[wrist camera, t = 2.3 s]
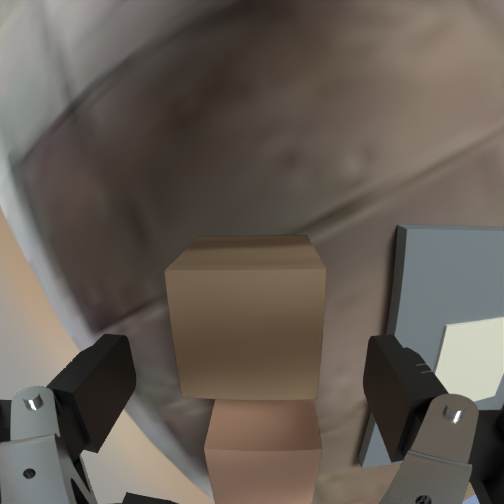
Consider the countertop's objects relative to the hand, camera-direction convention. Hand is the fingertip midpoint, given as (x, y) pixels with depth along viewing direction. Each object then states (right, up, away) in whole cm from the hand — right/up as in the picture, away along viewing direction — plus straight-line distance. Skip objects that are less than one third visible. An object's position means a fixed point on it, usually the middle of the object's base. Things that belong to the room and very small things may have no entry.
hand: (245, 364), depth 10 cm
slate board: (+13, -3, +6) cm, 15 cm away
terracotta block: (+1, -6, +8) cm, 10 cm away
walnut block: (0, +2, +6) cm, 6 cm away
